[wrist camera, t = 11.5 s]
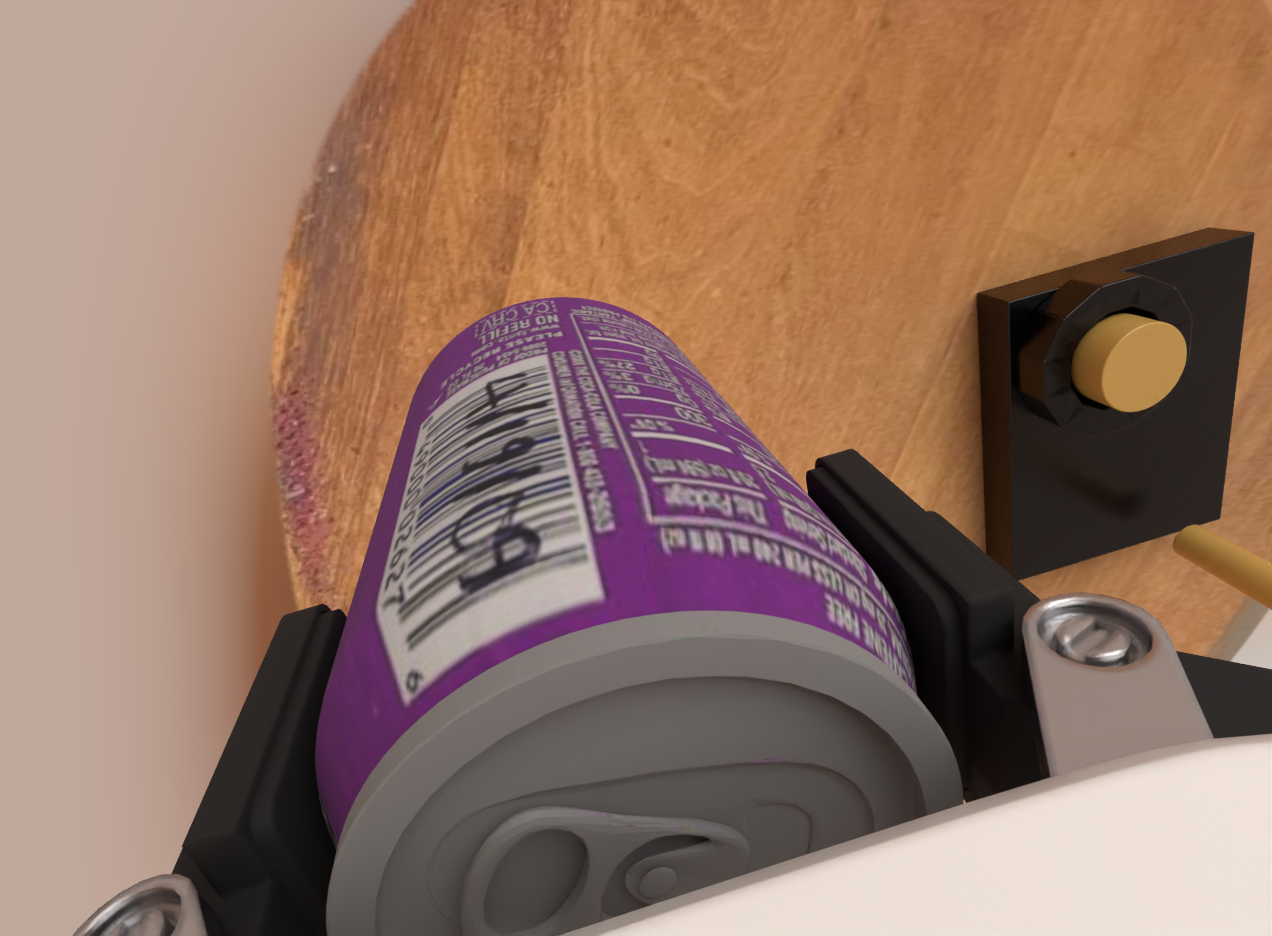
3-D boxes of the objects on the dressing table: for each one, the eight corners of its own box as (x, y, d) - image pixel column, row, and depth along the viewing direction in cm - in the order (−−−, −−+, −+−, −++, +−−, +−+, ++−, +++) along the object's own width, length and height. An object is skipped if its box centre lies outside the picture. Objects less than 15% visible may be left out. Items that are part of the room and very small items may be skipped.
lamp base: (976, 286, 32) (1037, 304, 28) (1209, 221, 32) (1298, 229, 29) (986, 560, 38) (1037, 603, 34) (1183, 500, 38) (1254, 536, 35)
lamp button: (1070, 326, 29) (1103, 336, 28) (1154, 302, 29) (1191, 311, 28) (1069, 409, 31) (1100, 423, 29) (1148, 386, 31) (1183, 398, 29)
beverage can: (385, 541, 18) (230, 1135, 7) (438, 253, 16) (321, 513, 5) (656, 583, 20) (847, 1102, 9) (741, 332, 18) (1140, 645, 7)
